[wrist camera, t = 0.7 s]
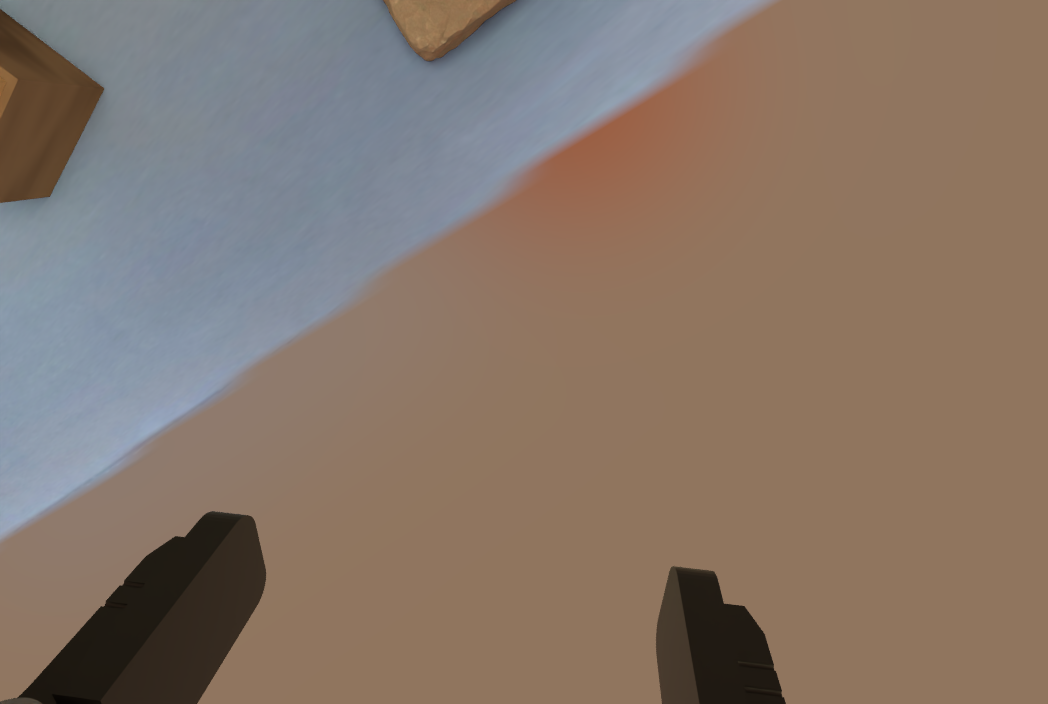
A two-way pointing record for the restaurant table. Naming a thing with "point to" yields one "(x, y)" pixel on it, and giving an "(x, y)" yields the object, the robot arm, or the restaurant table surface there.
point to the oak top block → (2, 85)
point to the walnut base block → (38, 112)
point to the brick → (440, 22)
